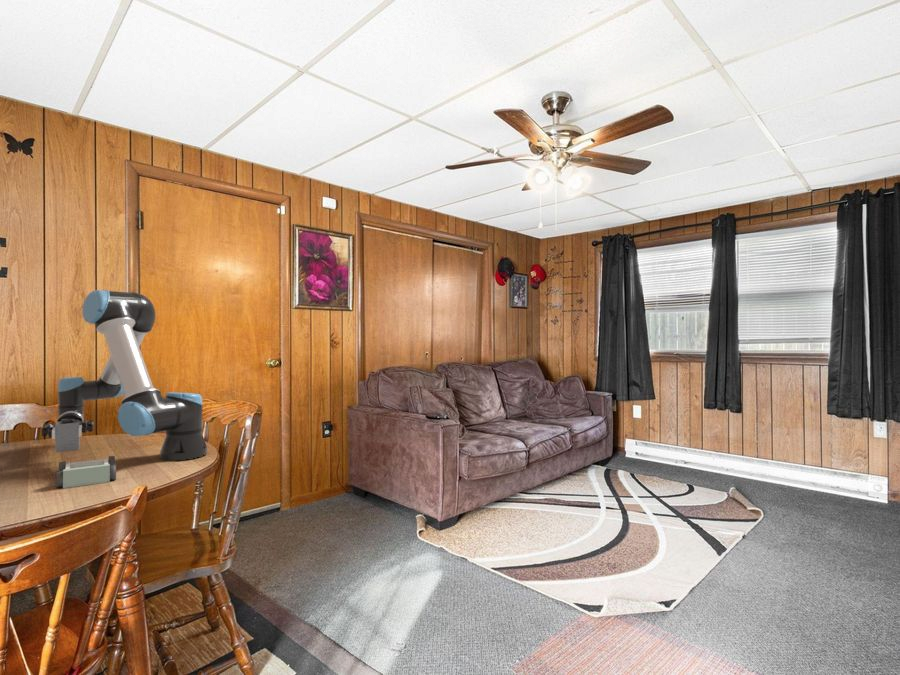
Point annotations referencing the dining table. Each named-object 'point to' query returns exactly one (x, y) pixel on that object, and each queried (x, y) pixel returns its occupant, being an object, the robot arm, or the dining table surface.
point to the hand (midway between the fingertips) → (66, 433)
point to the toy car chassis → (85, 472)
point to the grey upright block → (67, 435)
